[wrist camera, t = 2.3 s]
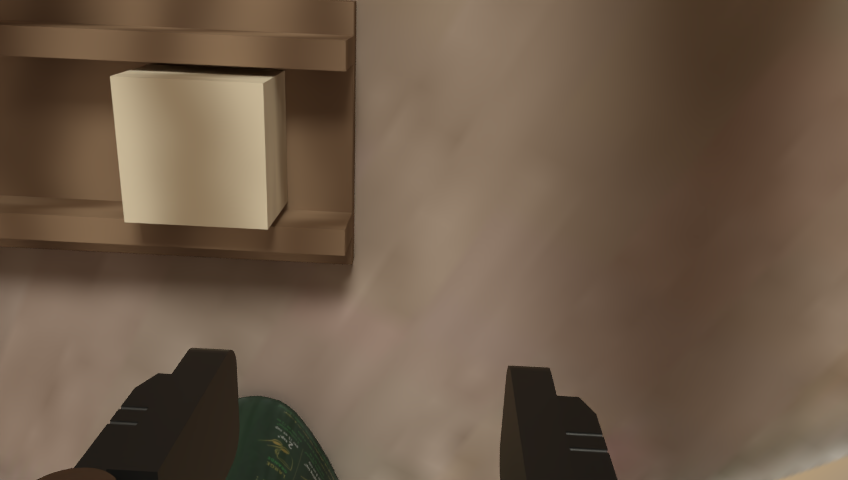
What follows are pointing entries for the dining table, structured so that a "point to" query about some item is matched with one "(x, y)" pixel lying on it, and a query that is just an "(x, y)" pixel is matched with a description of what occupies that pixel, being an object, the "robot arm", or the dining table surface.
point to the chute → (183, 46)
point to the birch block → (201, 145)
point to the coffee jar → (276, 444)
